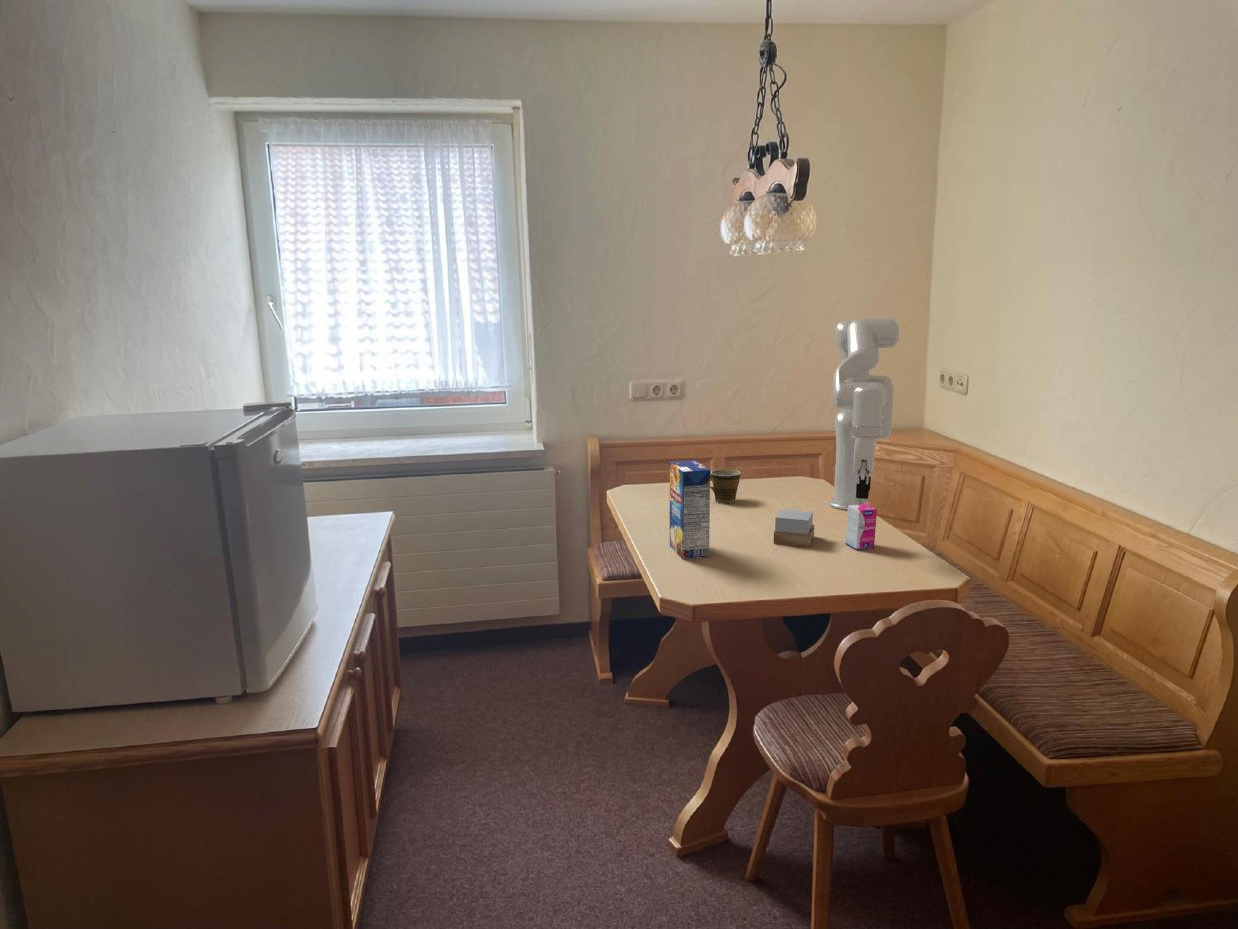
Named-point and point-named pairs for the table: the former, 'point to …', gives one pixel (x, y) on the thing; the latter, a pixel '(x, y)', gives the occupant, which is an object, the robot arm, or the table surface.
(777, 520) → the tower top slab
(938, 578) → the table surface
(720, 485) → the ceramic cup
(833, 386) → the robot arm
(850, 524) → the supplement box
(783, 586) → the table surface
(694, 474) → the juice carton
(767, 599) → the table surface
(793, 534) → the tower base slab
